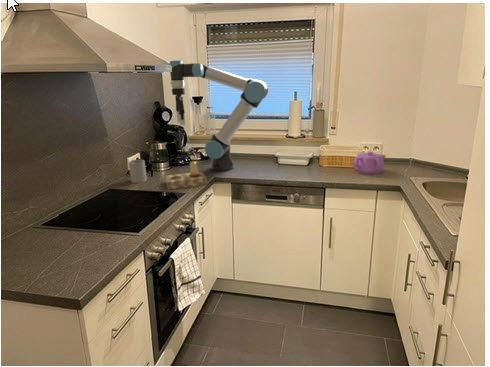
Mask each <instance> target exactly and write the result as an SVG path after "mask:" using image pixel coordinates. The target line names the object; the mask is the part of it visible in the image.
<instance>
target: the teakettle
mask: <svg viewBox="0 0 490 367" xmlns="http://www.w3.org/2000/svg"><path fill="white" fill-rule="evenodd" d="M386 157H387V156H386V154H379V153H375V152H373V151H367V152H365V153H357V154H356V157H354V160H353V167H354V170H355V172H358V173H359V174H362V175H365V176H366V175H368V176H369V175H376V174H381V173H383V172H384V169H385V162H384V160H385V159H386Z"/></svg>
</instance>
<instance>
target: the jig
mask: <svg viewBox="0 0 490 367" xmlns="http://www.w3.org/2000/svg"><path fill="white" fill-rule="evenodd" d="M198 175H199V177H192V178H191V172H187V173H186V172H185V173H179V174H178V173H177V174H168V175H167V174H166V175H165V176H164V178H165V180H164V181H165V184H166V187H167V190H173V189H181V188H189V187H188V186H190V187H197V186H196V185H198V186H206V185H208V180H207V176H206V175H205V174H204V173H203V171H198Z"/></svg>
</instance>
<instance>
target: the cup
mask: <svg viewBox="0 0 490 367" xmlns="http://www.w3.org/2000/svg"><path fill="white" fill-rule="evenodd" d="M145 162H146V161H145V160H144V159H132V160H129V161H128V168H129V174H130V181H131V183H133V184H136V183H137V184H138V183H145V182H147V181H148V179H147V178H148V177H147V170H146V163H145Z"/></svg>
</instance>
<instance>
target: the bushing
mask: <svg viewBox="0 0 490 367" xmlns="http://www.w3.org/2000/svg"><path fill="white" fill-rule="evenodd" d="M198 165H199V164H198V161H190V162H189V168H190V173H191V178H192V177H199V175H198V172H199V166H198Z"/></svg>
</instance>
